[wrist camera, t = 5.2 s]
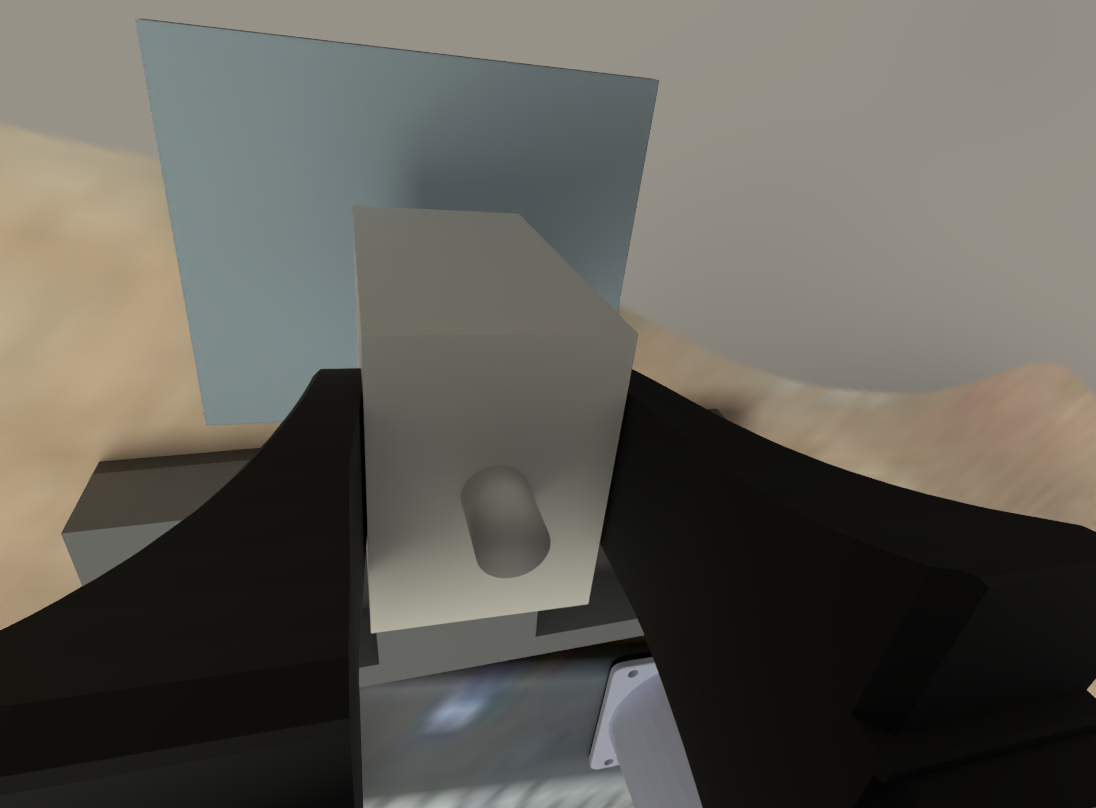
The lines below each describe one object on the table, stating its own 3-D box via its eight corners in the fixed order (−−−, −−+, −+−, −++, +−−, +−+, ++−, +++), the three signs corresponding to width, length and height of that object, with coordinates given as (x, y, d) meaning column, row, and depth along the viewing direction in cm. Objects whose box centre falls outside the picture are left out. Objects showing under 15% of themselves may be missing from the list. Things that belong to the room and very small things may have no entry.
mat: (651, 78, 17) (659, 80, 17) (595, 401, 22) (600, 408, 22) (141, 18, 14) (135, 19, 13) (209, 416, 19) (206, 425, 18)
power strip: (711, 403, 24) (770, 466, 21) (674, 560, 28) (719, 634, 25) (103, 453, 19) (52, 550, 16) (165, 638, 23) (135, 746, 20)
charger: (518, 213, 15) (677, 373, 8) (502, 407, 17) (612, 660, 10) (352, 205, 14) (365, 380, 7) (359, 412, 16) (373, 700, 9)
